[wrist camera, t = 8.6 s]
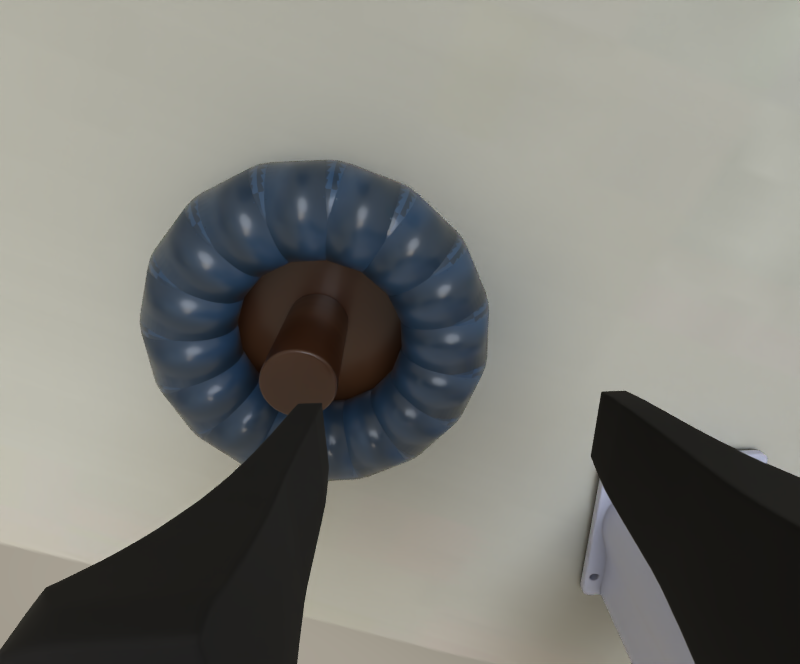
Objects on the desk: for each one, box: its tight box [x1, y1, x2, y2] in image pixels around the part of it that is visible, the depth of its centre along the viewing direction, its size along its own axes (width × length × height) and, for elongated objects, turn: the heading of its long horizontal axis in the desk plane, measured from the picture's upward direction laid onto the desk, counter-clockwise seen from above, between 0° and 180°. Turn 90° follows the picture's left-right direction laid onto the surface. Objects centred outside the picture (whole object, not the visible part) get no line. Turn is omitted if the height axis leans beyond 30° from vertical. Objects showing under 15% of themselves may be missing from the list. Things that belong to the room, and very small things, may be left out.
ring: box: [140, 160, 489, 481], centre depth 18 cm, size 12×12×3 cm
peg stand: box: [238, 260, 402, 415], centre depth 17 cm, size 8×8×6 cm
